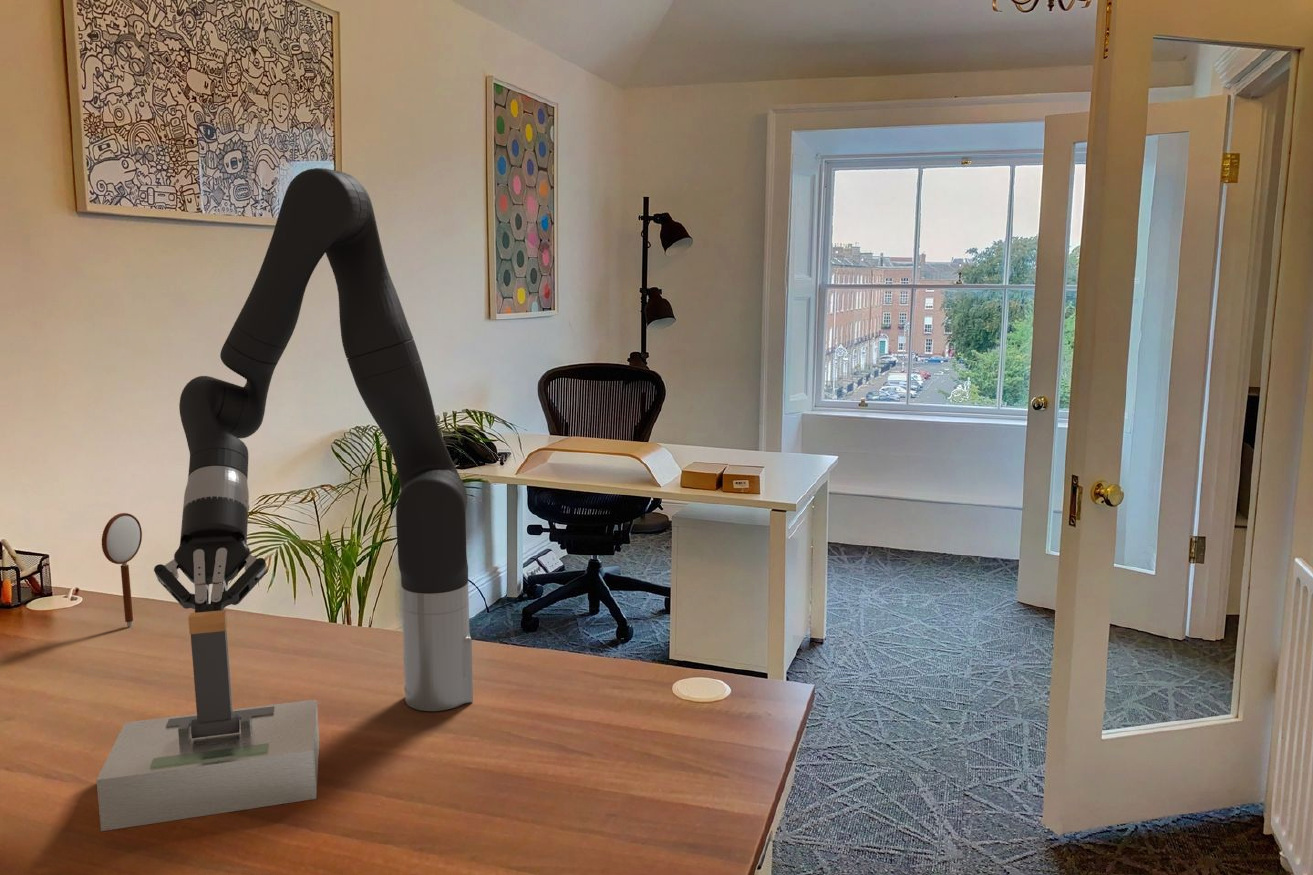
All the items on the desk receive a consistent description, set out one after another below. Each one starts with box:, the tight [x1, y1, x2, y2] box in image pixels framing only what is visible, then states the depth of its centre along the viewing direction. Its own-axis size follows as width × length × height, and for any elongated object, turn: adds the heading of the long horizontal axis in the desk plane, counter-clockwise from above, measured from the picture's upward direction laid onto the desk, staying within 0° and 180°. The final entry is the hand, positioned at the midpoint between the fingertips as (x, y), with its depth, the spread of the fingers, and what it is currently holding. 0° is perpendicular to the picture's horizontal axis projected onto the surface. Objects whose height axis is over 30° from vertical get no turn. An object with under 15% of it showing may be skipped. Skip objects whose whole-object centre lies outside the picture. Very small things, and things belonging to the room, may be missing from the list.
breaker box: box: [95, 699, 320, 832], centre depth 111 cm, size 22×14×8 cm, turn 108°
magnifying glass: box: [101, 512, 143, 627], centre depth 160 cm, size 9×2×20 cm, turn 170°
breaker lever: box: [188, 609, 240, 739], centre depth 109 cm, size 5×2×15 cm, turn 108°
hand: (207, 636), depth 109 cm, fingers closed
